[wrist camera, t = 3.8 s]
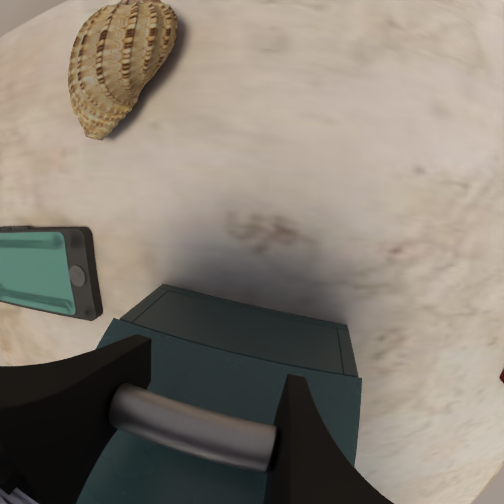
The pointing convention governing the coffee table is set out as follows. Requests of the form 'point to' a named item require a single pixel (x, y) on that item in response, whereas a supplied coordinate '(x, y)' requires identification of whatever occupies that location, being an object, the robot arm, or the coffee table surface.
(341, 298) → the coffee table surface
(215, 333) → the grey-green open box
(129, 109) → the seashell
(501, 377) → the block
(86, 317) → the smartphone
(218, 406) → the lid
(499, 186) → the coffee table surface
